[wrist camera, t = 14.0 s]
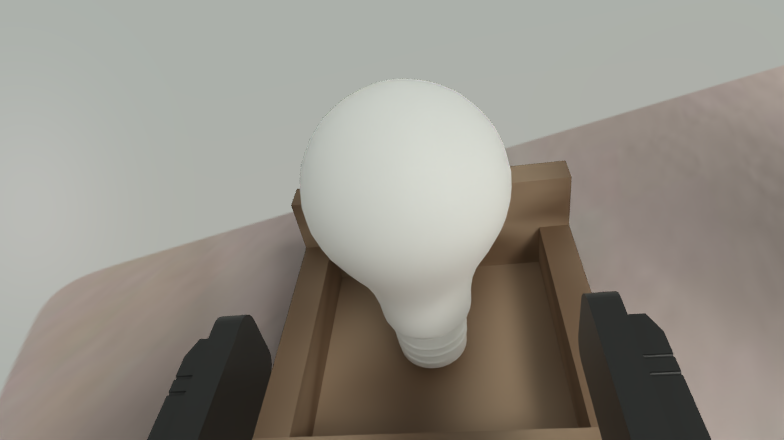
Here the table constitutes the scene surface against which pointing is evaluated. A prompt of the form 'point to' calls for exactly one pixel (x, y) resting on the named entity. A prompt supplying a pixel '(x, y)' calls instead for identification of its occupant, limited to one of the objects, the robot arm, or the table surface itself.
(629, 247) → the table surface
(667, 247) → the table surface
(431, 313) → the lightbulb
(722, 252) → the table surface
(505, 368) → the cradle
